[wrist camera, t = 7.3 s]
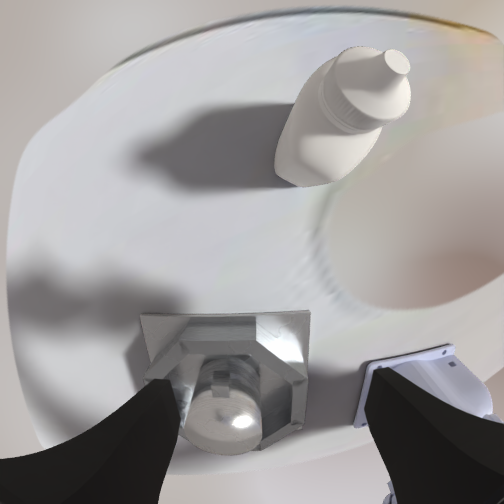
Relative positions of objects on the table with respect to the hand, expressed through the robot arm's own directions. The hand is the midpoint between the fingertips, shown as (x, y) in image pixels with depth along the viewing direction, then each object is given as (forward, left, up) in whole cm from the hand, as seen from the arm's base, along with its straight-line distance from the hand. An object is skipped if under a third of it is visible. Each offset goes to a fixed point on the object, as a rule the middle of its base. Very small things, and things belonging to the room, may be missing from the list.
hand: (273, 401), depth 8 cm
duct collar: (+3, +7, -10) cm, 12 cm away
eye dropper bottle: (-3, -10, -10) cm, 15 cm away
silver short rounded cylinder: (+3, +7, -10) cm, 12 cm away
